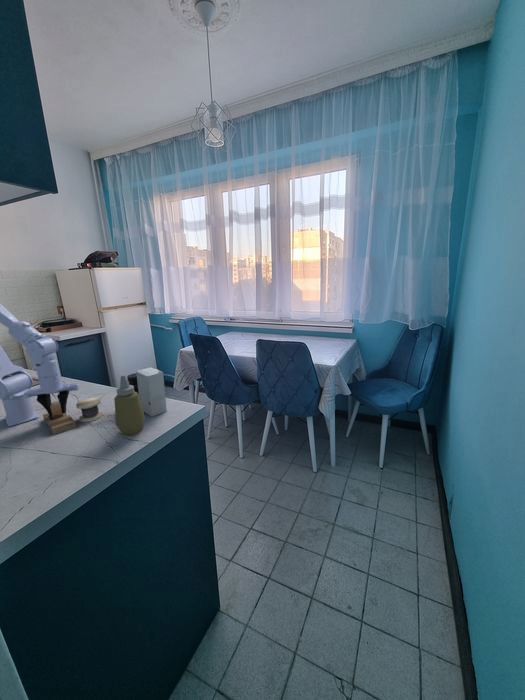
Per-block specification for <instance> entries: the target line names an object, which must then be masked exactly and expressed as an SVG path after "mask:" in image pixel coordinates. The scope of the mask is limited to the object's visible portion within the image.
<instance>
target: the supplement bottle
mask: <svg viewBox="0 0 525 700" xmlns="http://www.w3.org/2000/svg"><path fill="white" fill-rule="evenodd" d="M126 379H127V381H128V383H129V385H133V386H134V391H135V392H137V393H138V395H139V391H138V382H137V374H136V373H131V374H128V375H127V377H126Z"/></svg>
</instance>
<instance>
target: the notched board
mask: <svg viewBox="0 0 525 700" xmlns="http://www.w3.org/2000/svg"><path fill="white" fill-rule="evenodd" d="M42 418H43V420H44V423H45V424H46V425H47V427H48V428H49V430H50V431H51V432H52V434H53V435H56V434H60V433H62V432H65V431H68V430H71V429H74V428H76V427H77V424H76V421H75V420H74V418H73V417H72V416H71V415H70V414H68V415H67V414H66V416H64V417H61V418H58V419H55V420H53V417H52V416H50V415H49V414H48V412H47V413H43V414H42Z"/></svg>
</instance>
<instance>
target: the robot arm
mask: <svg viewBox="0 0 525 700" xmlns="http://www.w3.org/2000/svg"><path fill="white" fill-rule="evenodd" d="M0 324H2V326H5V327H6V328H7V329H8V330H7V331H8V332H7V333H8V334H9V336H11V337H12V338H14V339H15V340H16V341H17V342H18V343H20V344H21V345H22V346H23V347H24V348H26V349H25V352H26V355H27V356H28V357H29V358H30V359H31V363H32V364H33V365H34V367H35V371H36V375H37V379H38V380H37V381H38V383H39V386H40V387H38V388H33V389H31V388H32V387H33V386H34V380H33V377H32V376H31V375H30V374H29V373H28V372H27V371H26V370H25V369H24V367H23V366H19V365H16V364H13V363H12V361H11V359H10V358H9V356H8V355H7V353H6V352H5V350H4V349H3V346H2V345H1V344H0V400H1V403H2V405H3V408H4V412H5V415H6V416H5V417H4V419H5V421H6V424H7V426H8V427H12V426H13V427H14V426H17V425H19V424H23V423H26V422H29V421H32V420H36V419H38V418H39V415H38V414H37V412H36V410H35V409H34V405H33V401H32V398H33V397H36V401H37V403H39V404H40V405H41V406H42V407H43V408H44V409H45V410H46V412H47V413H48V414H49V415H50V416H52V413H51V409H50V405H51V403H52V398H51V395H52V394H53V395H54V394H57V395H56V397H57V399H58V401H59V402H60V405H61V410H62V414H64V413H66V414H67V403H68V399H69V398H68V397H69V395H70V392H72V391H79V389H80V385H79V383H78V382H76V383H63V382H62V377H61V374H60V373H61V372H60V369H59V368H60V367H59V364H58V361H57V355H56V353H57V352H58V350H59V344H58V341H56V339H55V338H54V337H53V336H51V335H46V334H42V333H41V332H39V330H37V329H36V328H34V327H33V326H32V325H31V323H29V322H28V321H24V320H22V321H21V320H18V319H17V318H16V317H15V315H13V314H12V313H11V312H10V311H9V310H8V309H7V308H6V307H5V306H4V305H2V304H1V303H0ZM31 397H32V398H31Z"/></svg>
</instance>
